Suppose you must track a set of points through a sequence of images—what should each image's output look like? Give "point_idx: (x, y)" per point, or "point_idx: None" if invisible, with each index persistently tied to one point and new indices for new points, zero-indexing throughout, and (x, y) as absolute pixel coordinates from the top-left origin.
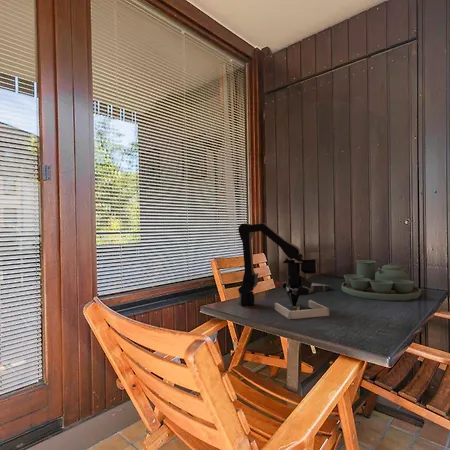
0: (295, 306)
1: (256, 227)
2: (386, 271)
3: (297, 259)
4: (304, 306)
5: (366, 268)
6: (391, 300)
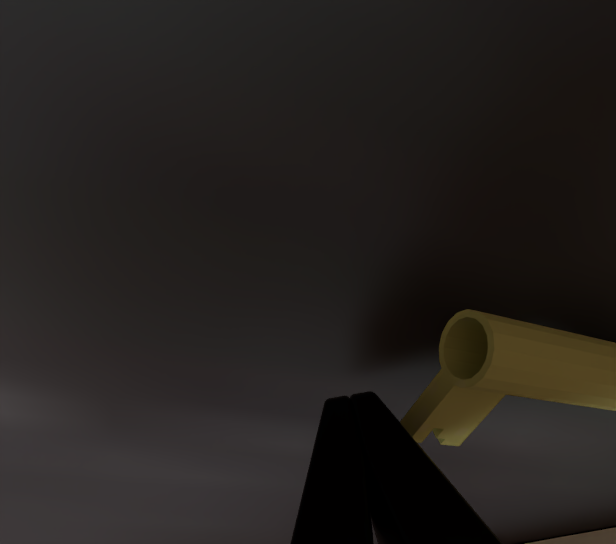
0: (436, 419)
1: None
2: None
3: None
4: (111, 14)
5: None
6: None
